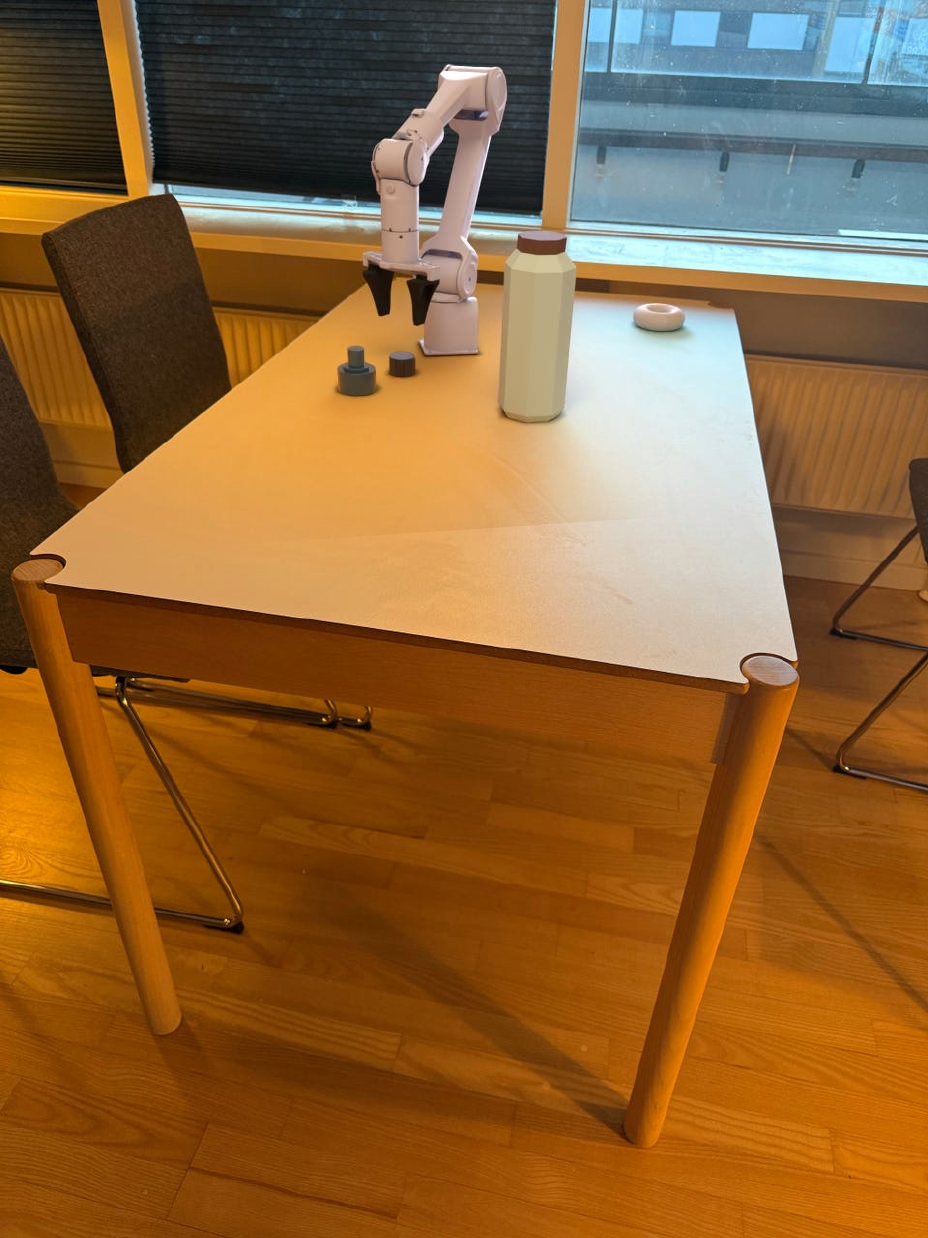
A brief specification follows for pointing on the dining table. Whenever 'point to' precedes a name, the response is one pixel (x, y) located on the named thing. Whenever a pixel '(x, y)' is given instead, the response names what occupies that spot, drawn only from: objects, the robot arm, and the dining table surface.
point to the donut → (659, 317)
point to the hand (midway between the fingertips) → (401, 319)
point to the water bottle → (536, 327)
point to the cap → (402, 364)
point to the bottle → (356, 374)
